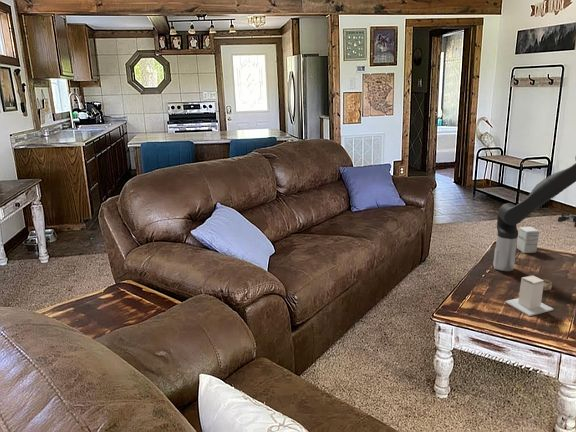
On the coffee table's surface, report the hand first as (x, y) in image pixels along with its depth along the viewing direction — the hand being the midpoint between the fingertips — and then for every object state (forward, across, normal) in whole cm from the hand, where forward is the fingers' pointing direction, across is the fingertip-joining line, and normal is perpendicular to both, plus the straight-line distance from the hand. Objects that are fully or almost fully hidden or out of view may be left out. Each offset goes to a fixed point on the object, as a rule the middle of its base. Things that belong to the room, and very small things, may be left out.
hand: (566, 222), depth 211 cm
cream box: (+31, +14, +29) cm, 45 cm away
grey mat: (+31, +14, +29) cm, 45 cm away
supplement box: (-17, -35, +29) cm, 49 cm away
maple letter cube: (+12, +4, +29) cm, 32 cm away
